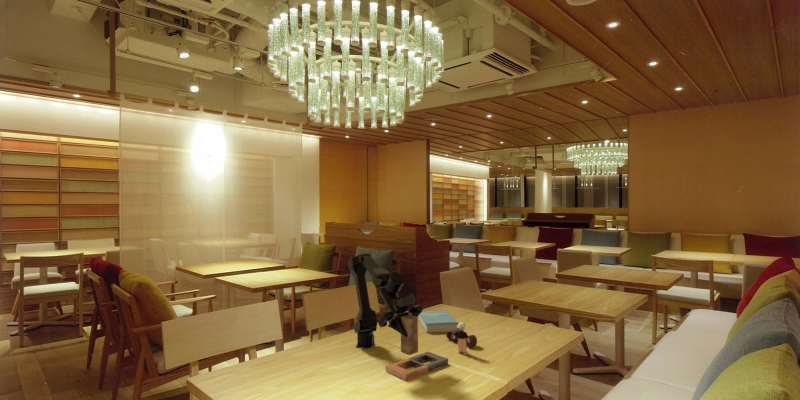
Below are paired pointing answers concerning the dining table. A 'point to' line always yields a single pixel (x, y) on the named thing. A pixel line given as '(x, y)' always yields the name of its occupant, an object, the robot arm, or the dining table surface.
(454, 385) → the dining table surface
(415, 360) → the grey-tan flat frame piece
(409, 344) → the walnut post
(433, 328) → the book
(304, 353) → the dining table surface
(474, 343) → the bolt
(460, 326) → the grandmother figurine
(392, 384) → the dining table surface
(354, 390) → the dining table surface
